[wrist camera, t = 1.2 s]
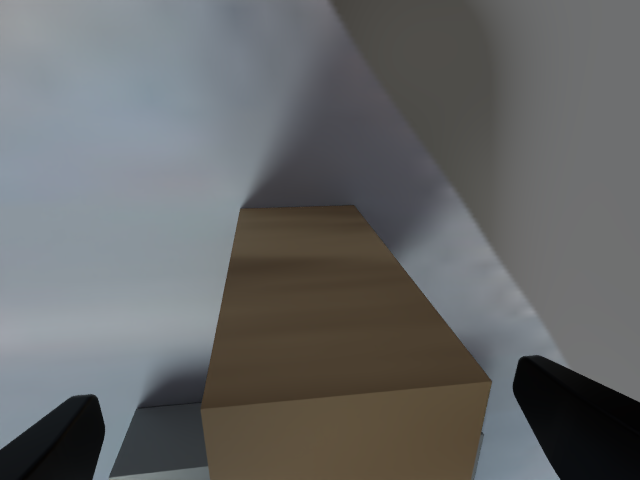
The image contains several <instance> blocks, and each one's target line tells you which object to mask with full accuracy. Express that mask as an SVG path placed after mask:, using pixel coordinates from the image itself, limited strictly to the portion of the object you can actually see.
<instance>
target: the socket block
mask: <svg viewBox="0 0 640 480" xmlns="http://www.w3.org/2000/svg"><path fill="white" fill-rule="evenodd" d="M201 404H202V403H193V404H183V405H172V406H161V407H151V408H140V409H136V411H135V413H134V416H133V418H132V421H131V423H130V426H129V428H128V431H127V433H126V436H125V438H124V441H123V443H122V446H121V448H120V451H119V453H118V456H117V458H116V461H115V463H114V466H113V468H112V471H111V473H110V476H109V480H210V476H209V468H208V461H207V453H206V446H205V439H204V431H203V424H202V417H201ZM483 436H484V434H483V433H482V431H481V435H480V440H479V444H478V449H477V454H476V458H475V463H474V468H473V473H472V477H471V480H474V477H475V473H476V468H477V464H478V459H479V455H480V450H481V445H482V441H483Z"/></svg>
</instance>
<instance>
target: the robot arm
mask: <svg viewBox="0 0 640 480" xmlns="http://www.w3.org/2000/svg"><path fill="white" fill-rule="evenodd" d="M513 392H514V395H515V398H516V400H517V402H518V404H519V405H520V407H521V409H522V411H523V413H524V415H525V417H526V419H527V421H528V423H529V425H530V426H531V428H532V430H533V432H534V434H535V436H536V438H537V440H538V442H539V444H540V445H541V447H542V449H543V451H544V453H545V455H546V457H547V458H548V460H549V462H550V464H551V465H552V467H553V469H554V470H555V472H556V473H557V475H558V477H559V478H560V480H640V402H638V401H636V400H634V399H632V398H629V397H627V396H625V395H623V394H621V393H619V392H617V391H615V390H613V389H610V388H608V387H606V386H604V385H602V384H600V383H598V382H595V381H593V380H591V379H589V378H587V377H585V376H583V375H581V374H579V373H576V372H574V371H572V370H570V369H568V368H566V367H564V366H562V365H559V364H557V363H555V362H553V361H551V360H549V359H547V358H545V357H542V356H539V355H533V356H523V357H521V358H520V359H519V361H518V365H517V369H516V373H515V377H514V382H513ZM104 436H105V424H104V420H103V416H102V412H101V408H100V404H99V401H98V398H97V397H96V396H95V395H93V394H88V395H77V396H72V397H70V398H69V399H67V400H66V401H65V402H63V403H62V404H61V405H59V406H58V407H57V408H55V409H54V410H53V411H51V412H50V413H49V414H47V415H46V416H45V417H43V418H42V419H41V420H39V421H38V422H37V423H35V424H34V425H33V426H31V427H30V428H29V429H27V430H26V431H25V432H23V433H22V434H21V435H19V436H18V437H17V438H15V439H14V440H13V441H11V442H10V443H9V444H7V445H6V446H5V447H3V448H2V449H1V450H0V480H92V479H93V476H94V472H95V469H96V465H97V461H98V458H99V454H100V451H101V447H102V444H103V440H104Z"/></svg>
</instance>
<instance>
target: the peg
mask: <svg viewBox="0 0 640 480" xmlns="http://www.w3.org/2000/svg"><path fill="white" fill-rule="evenodd" d="M491 384H492V381H491V379H490V378H489V377H488V376H487V374H486V373H485V372H484V371H483V369H482V368H481V367H480V365H479V364H478V363H477V362H476V360H475V359H474V358H473V356H472V355H471V354H470V353H469V351H468V350H467V349H466V348H465V346H464V345H463V344H462V342H461V341H460V340H459V339H458V337H457V336H456V335H455V334H454V332H453V331H452V330H451V328H450V327H449V326H448V325H447V323H446V322H445V321H444V319H443V318H442V317H441V316H440V314H439V313H438V312H437V311H436V309H435V308H434V307H433V305H432V304H431V303H430V302H429V300H428V299H427V298H426V297H425V295H424V294H423V293H422V291H421V290H420V289H419V288H418V286H417V285H416V284H415V282H414V281H413V280H412V279H411V277H410V276H409V275H408V274H407V272H406V271H405V270H404V268H403V267H402V266H401V265H400V263H399V262H398V261H397V259H396V258H395V257H394V256H393V254H392V253H391V252H390V251H389V249H388V248H387V247H386V245H385V244H384V243H383V242H382V240H381V239H380V238H379V237H378V235H377V234H376V233H375V231H374V230H373V229H372V228H371V226H370V225H369V224H368V222H367V221H366V220H365V219H364V217H363V216H362V215H361V214H360V212H359V211H358V210H357V208H356V207H355V206H354V205H344V206H311V207H278V208H246V209H240V212H239V217H238V222H237V227H236V232H235V238H234V243H233V248H232V253H231V258H230V263H229V268H228V273H227V278H226V283H225V288H224V293H223V298H222V303H221V308H220V313H219V318H218V323H217V328H216V333H215V338H214V344H213V349H212V354H211V359H210V364H209V369H208V374H207V379H206V384H205V389H204V394H203V399H202V404H201V417H202V424H203V431H204V439H205V446H206V453H207V461H208V468H209V476H210V480H471V477H472V473H473V468H474V463H475V458H476V454H477V449H478V444H479V440H480V435H481V430H482V426H483V421H484V416H485V412H486V407H487V402H488V398H489V393H490V388H491Z"/></svg>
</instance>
